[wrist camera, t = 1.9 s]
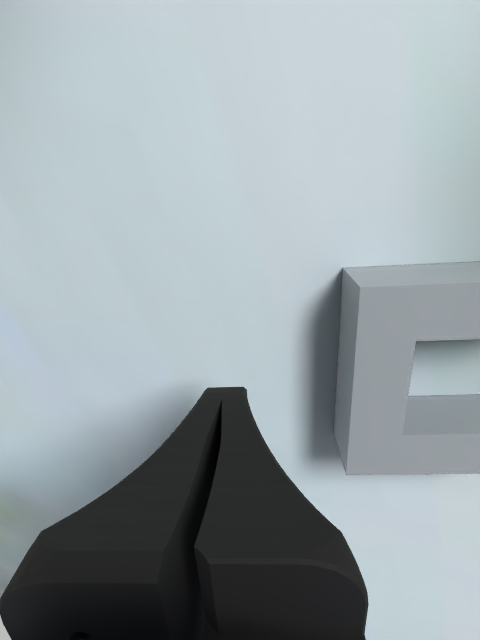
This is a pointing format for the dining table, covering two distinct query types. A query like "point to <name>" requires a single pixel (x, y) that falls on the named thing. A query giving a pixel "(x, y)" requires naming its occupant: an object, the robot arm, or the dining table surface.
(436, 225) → the dining table surface
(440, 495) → the dining table surface
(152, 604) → the robot arm
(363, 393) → the clip
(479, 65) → the dining table surface
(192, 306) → the dining table surface
